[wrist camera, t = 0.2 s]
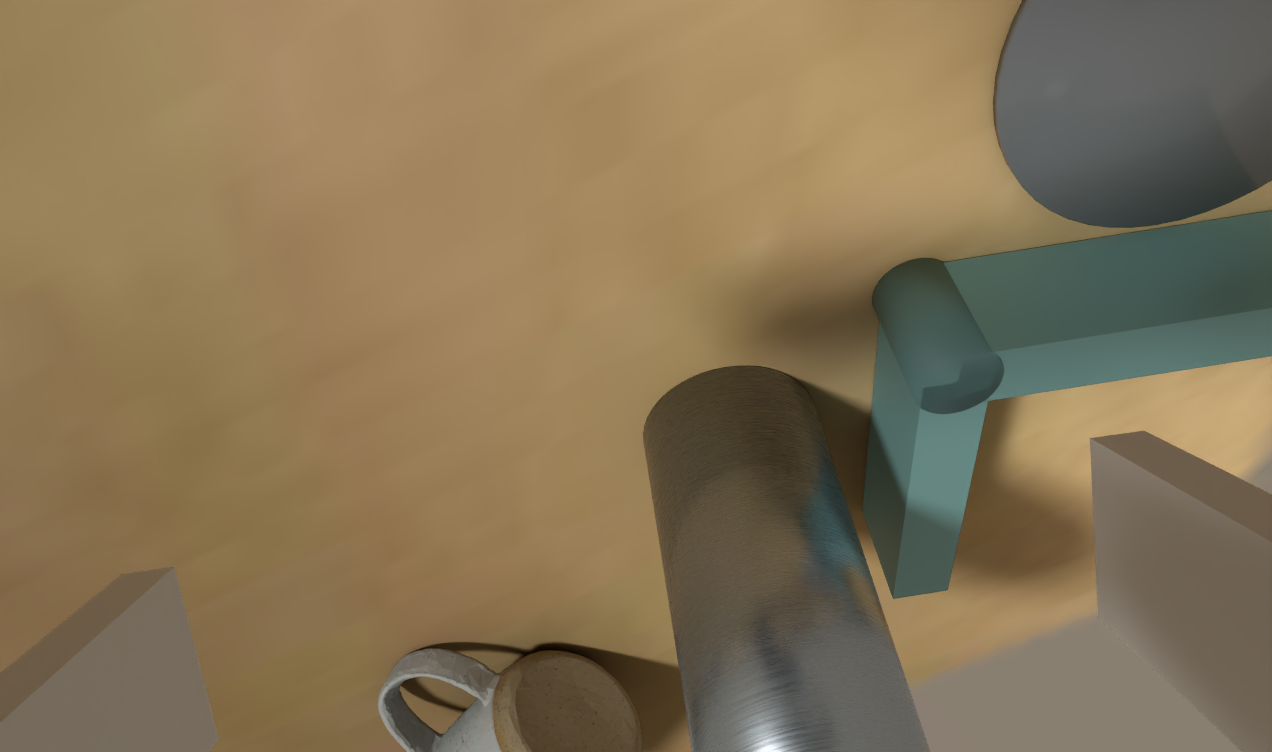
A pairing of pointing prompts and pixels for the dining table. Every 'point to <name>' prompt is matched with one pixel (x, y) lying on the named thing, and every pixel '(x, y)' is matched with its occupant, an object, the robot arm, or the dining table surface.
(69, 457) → the dining table surface
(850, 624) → the bottle
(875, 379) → the bent rail
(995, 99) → the coaster
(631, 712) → the ceramic mug
